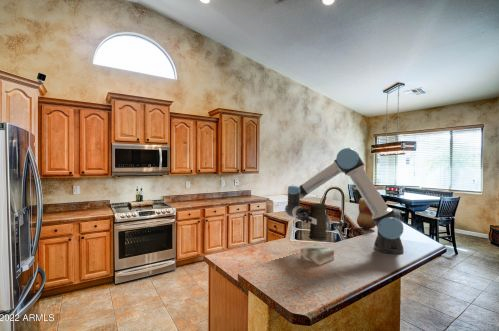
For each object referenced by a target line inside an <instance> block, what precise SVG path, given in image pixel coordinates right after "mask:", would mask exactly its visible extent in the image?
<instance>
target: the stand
mask: <svg viewBox="0 0 499 331" xmlns="http://www.w3.org/2000/svg"><path fill="white" fill-rule="evenodd" d="M302 258H303V260H305V261H309V262H311V263H314V264H316V265H319V266H320V265H324V264H325V263H328V262H331V261H332V262H333V261H334V260H335V250H333V249H330V248H327V247H324V246H321V245H318V244H313V245H310V246H306V247H302V248H301V249H300V259H302Z"/></svg>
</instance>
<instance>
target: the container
mask: <svg viewBox="0 0 499 331" xmlns="http://www.w3.org/2000/svg"><path fill="white" fill-rule="evenodd" d="M309 206H310V211H309V212H310V213H311V216H310V217H312V218H315V219H317V225H315V224H313V223H310V222H309V233H308V234H309V235H308V238H309V239H310V240H312V241H318V242H319V241H320V242H322V241H323V242H324V241H326V240H327V239H328V236H327V227H326V226H327V223H326V216H327V215H326V214H327V213H326V210H327V205H326V204H325V203H310V204H309Z"/></svg>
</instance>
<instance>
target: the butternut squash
mask: <svg viewBox="0 0 499 331" xmlns="http://www.w3.org/2000/svg"><path fill="white" fill-rule="evenodd" d="M358 211H359V212H358V215H357V219H356V223H357V226H359V228H362V229H363V230H371V229H374V228H376V227H377V226H376V224H375V223H374V221H373V219H372V215H373V214H372V212H371V210H370V209H369V207H368V206H367V204H366V202H365V201H364V199H363V197H360V199H359V200H358Z"/></svg>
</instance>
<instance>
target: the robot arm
mask: <svg viewBox="0 0 499 331" xmlns="http://www.w3.org/2000/svg"><path fill="white" fill-rule="evenodd" d="M365 165H366V164H365V163H364V161H363V159H362V158H361V157H360V155H359V153H358V152H357V150H356V149H354V148H351V147H346V148H342V149H340V150H339V151H338V153H337V154H336V159H334V160H333V163H331V164H330V165H328V166H327V167H325V168H324V169H323V170H321V171H319V172H318V173H317V174H315V175H314V176H313V177H310V179H308V180H307V181H305V182H303V183H302V184H300V185H288V186H287V205H286V206H285V207H284V212H285V213H286V214H287V215H288V216H289V217H293V218H294V219H297V220H298V221H301V222H304V223H306V224H308V223H309V224H310V223H313V224H315V225H317V219H315V218H312V217H310V216H311V213H310V212H311V211H310V210H309V209H308V208H306V207H303V206H300V204H301V203H300V202H301V199H303V198H304V199H305V197H306V196H308V195H309V194H310V193H312V192H313V191H314V190H316V189H318V188H320V187H321V186H323V185H324V184H326V183H327V182H329V181H330V180H331V179H333V178H334V177H337V176H338V175H339V174H342V173H343V174H345V176H348V177H349V178H350V179H351V181H352V183H353V184H354V186H355V188H356V189H357V190H358V192H359V194H360V195H361V198H363V199H364V201H365V202H366V204H367V206H368V207H369V209H370V210H371V212H372V214H373V215H372V219H373V221H374V223H375V224H376V226H375V227H377V235H376V239H375V240H374V244H373V249H375V250H376V251H378V252H382V253H386V254H393V255H394V254H395V255H397V254H398V255H399V253H400V254H403V253H404V246H403V243H402V239H401V236H402V235H403V233H404V224H403V223H402V221H401V216H402V215H401V212H400V211H399V210H397V211H396V210H394V209H393V208H391V207H388V205H387V203H386V202H385V200H384V198H383V197H382V195H381V194H380V192H379V191H378V189H377V188H376V186H375V185H374V183H373V181H372V180H371V178H370V176H369V175H368V173H367V172H366V170H365ZM326 224H329V225H330V224H332V218H331V217H328V215H326Z"/></svg>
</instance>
